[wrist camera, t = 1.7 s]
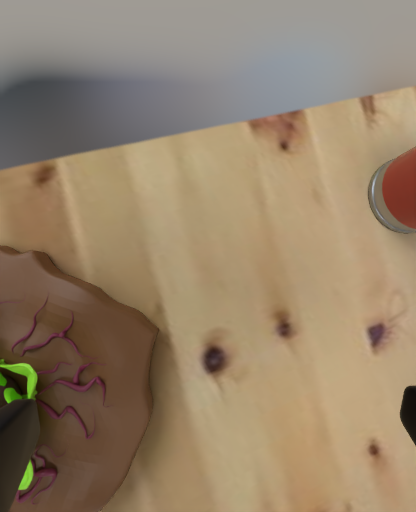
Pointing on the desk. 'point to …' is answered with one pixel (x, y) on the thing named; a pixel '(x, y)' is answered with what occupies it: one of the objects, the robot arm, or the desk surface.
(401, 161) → the tin can
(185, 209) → the desk surface
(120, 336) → the plant
